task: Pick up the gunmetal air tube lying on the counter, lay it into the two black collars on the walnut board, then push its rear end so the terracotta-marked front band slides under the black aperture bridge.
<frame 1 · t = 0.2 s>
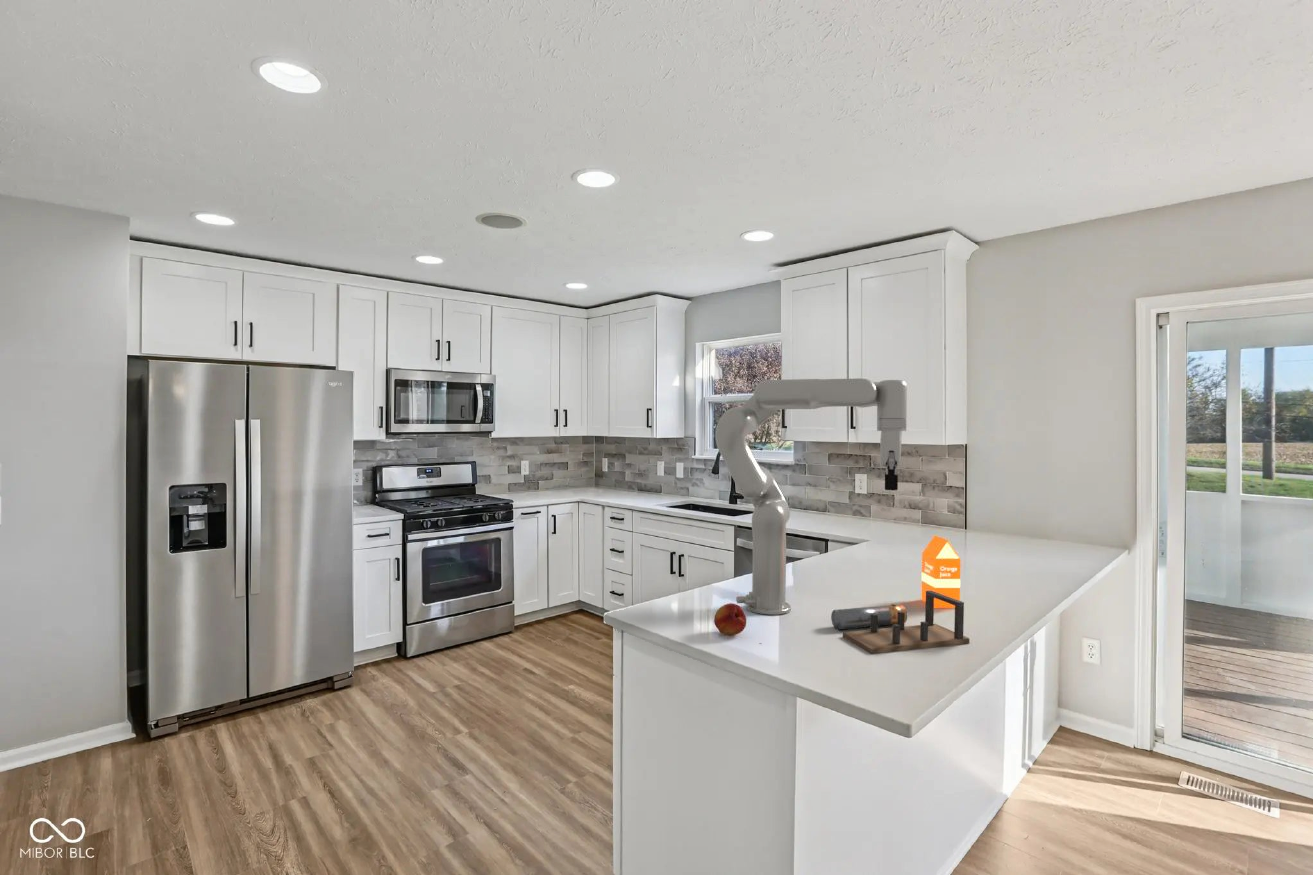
hand: (891, 488, 172), 36 cm above the countertop, tool pointing down, fingers open, 9 cm apart
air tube: (869, 625, 168), on the countertop
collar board: (898, 640, 157), on the countertop
orange juice: (939, 604, 191), on the countertop
fruit: (729, 635, 160), on the countertop
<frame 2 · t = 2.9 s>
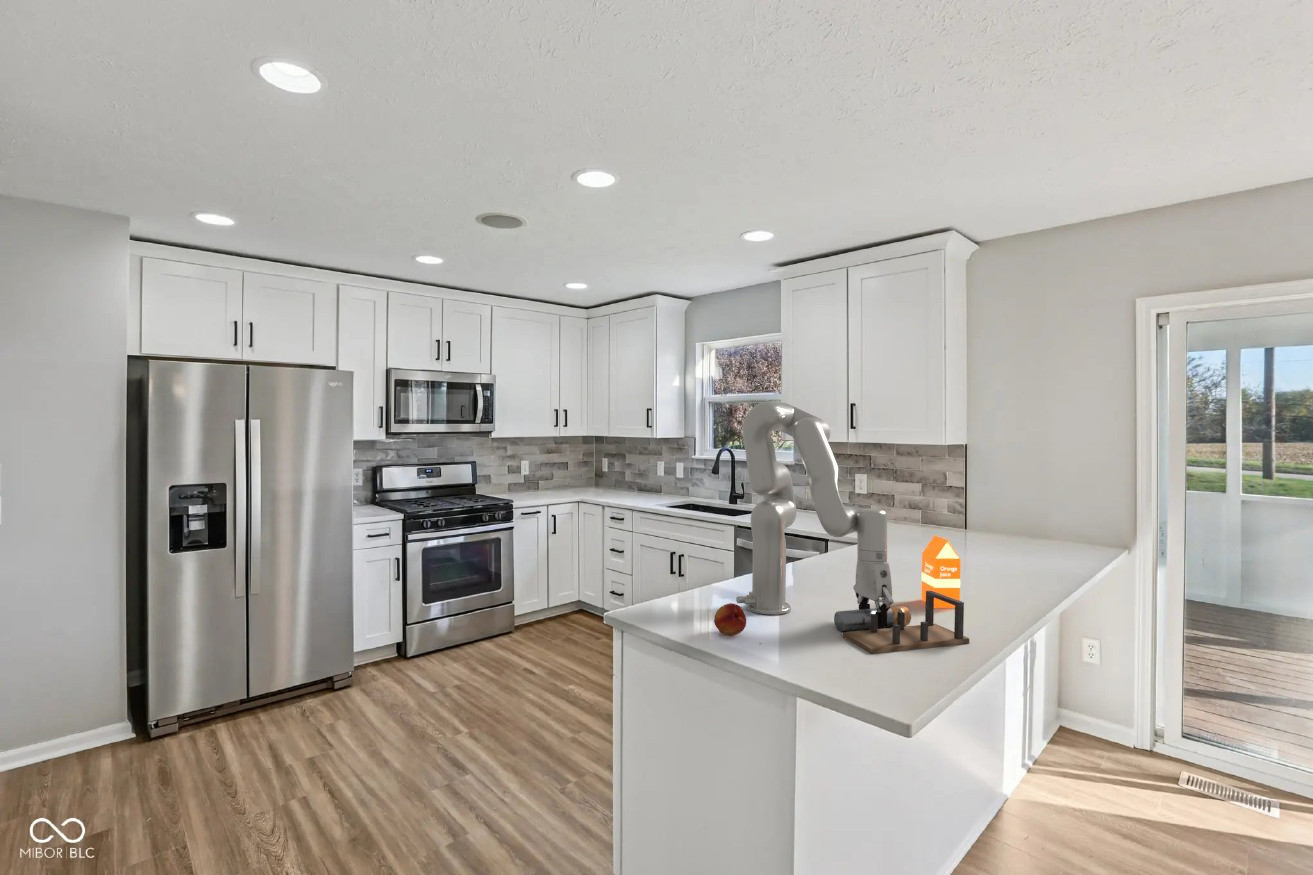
hand: (872, 622, 168), 1 cm above the countertop, tool pointing down, fingers open, 6 cm apart
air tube: (869, 624, 168), on the countertop, tilted 34°, touching gripper
everything else where it was.
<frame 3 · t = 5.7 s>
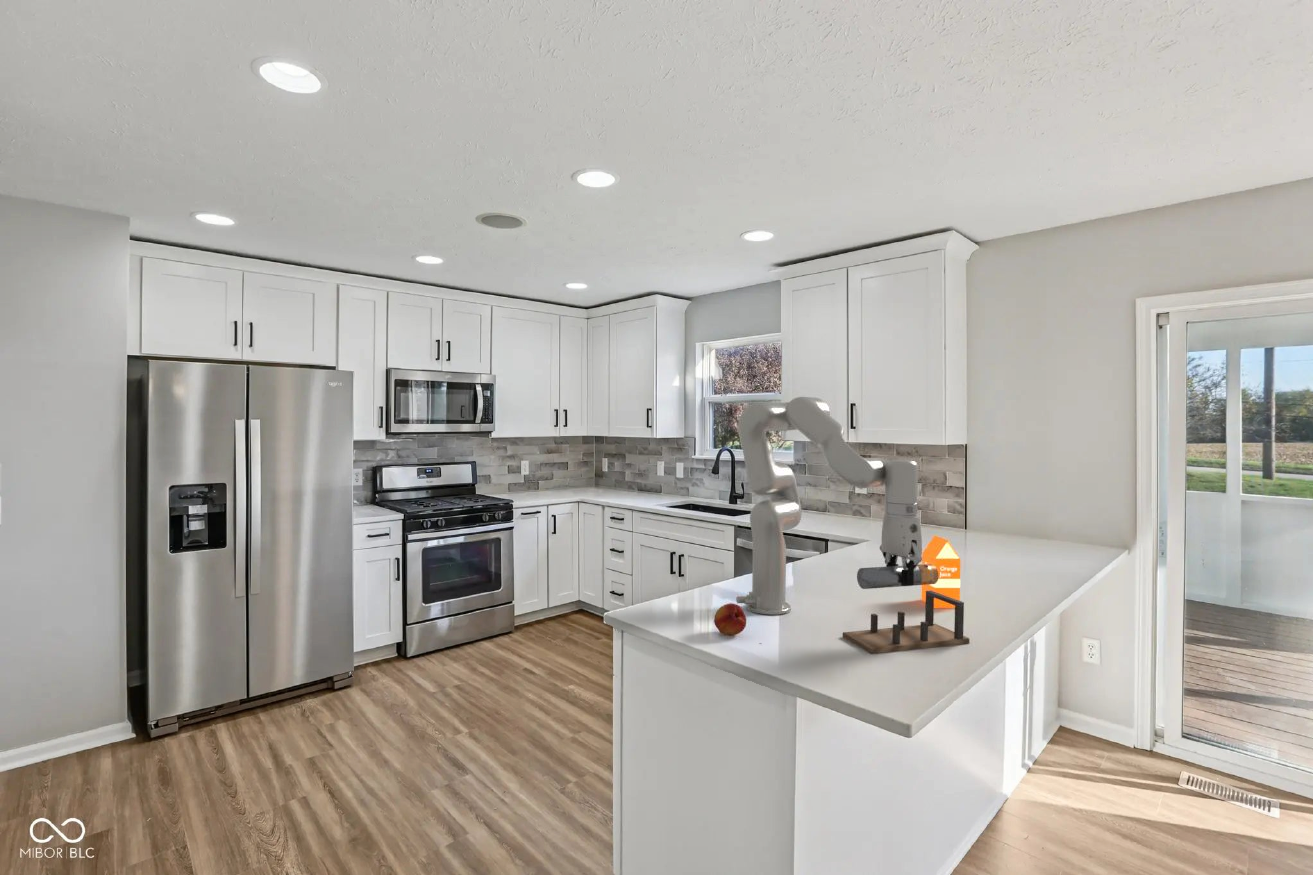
hand: (899, 582, 157), 15 cm above the countertop, tool pointing down, fingers closed on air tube, 5 cm apart
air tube: (895, 584, 157), point 14 cm above the countertop, tilted 22°, touching gripper
everything else where it was.
when the fingers open (3 cm above the countertop, at t = 8.1 s): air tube stays where it is, resting on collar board.
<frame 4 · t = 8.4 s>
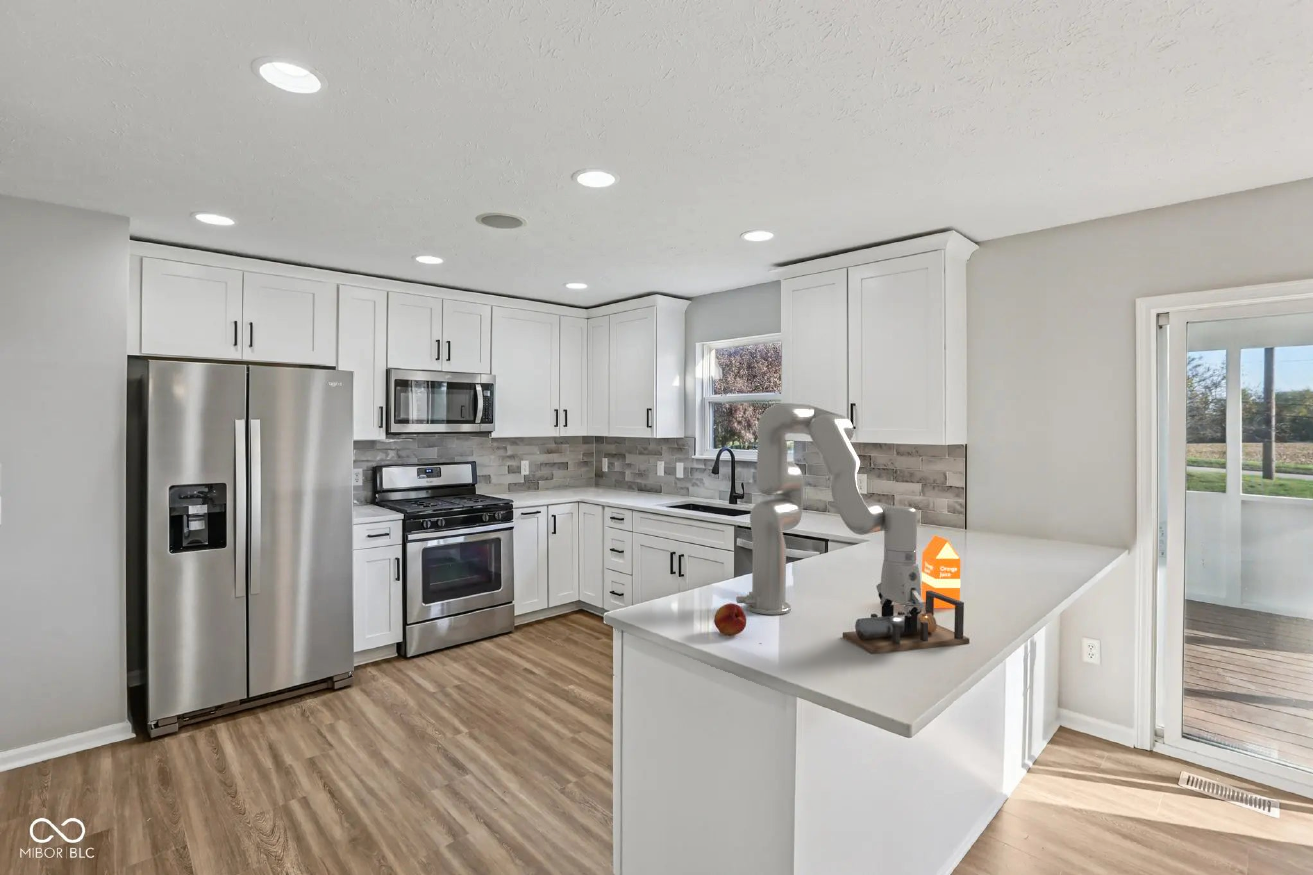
hand: (898, 625, 157), 4 cm above the countertop, tool pointing down, fingers open, 8 cm apart
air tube: (893, 634, 158), point 1 cm above the countertop, tilted 19°, touching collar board
everything else where it was.
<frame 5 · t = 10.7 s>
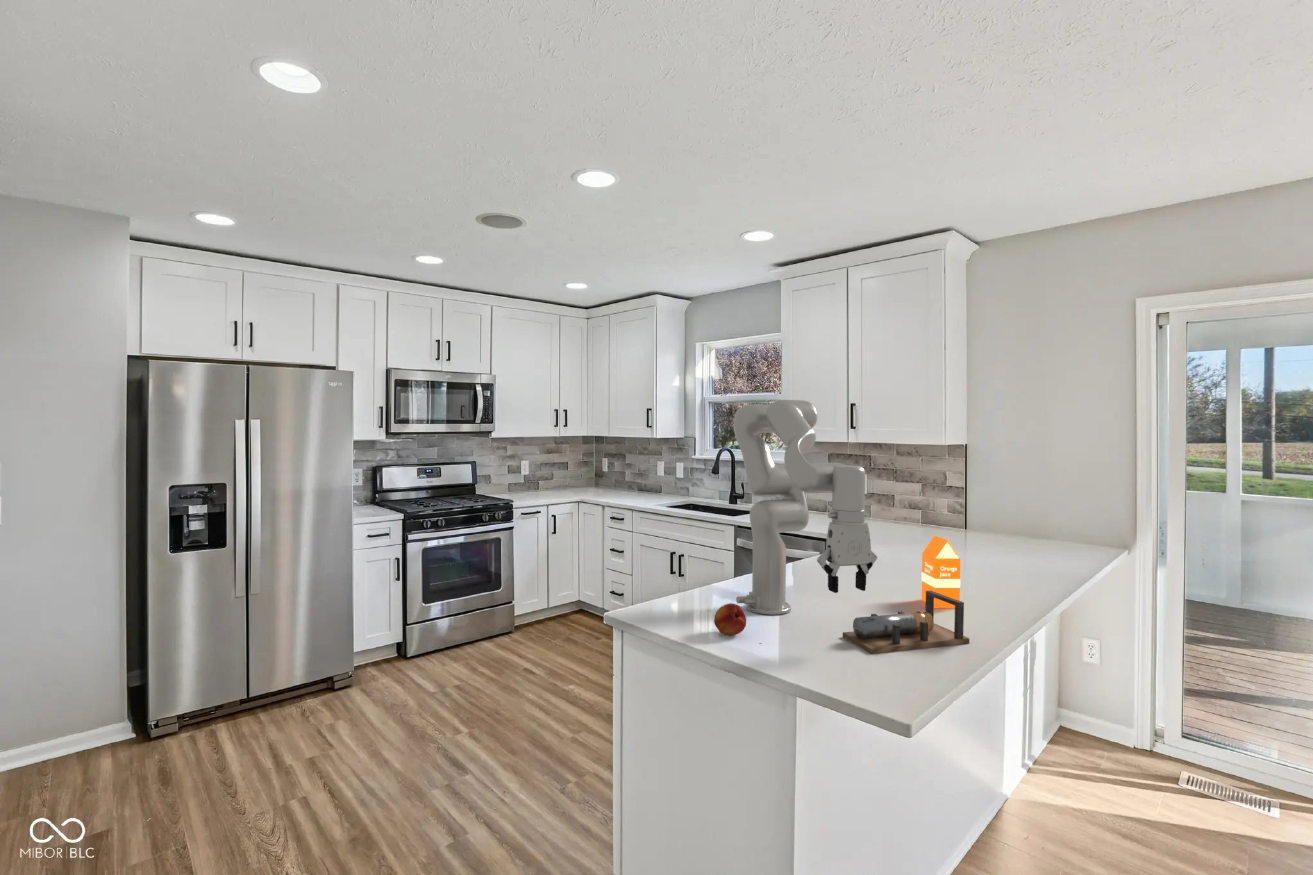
hand: (846, 589, 152), 14 cm above the countertop, tool pointing down, fingers open, 6 cm apart
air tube: (893, 634, 158), point 1 cm above the countertop, touching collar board
everything else where it was.
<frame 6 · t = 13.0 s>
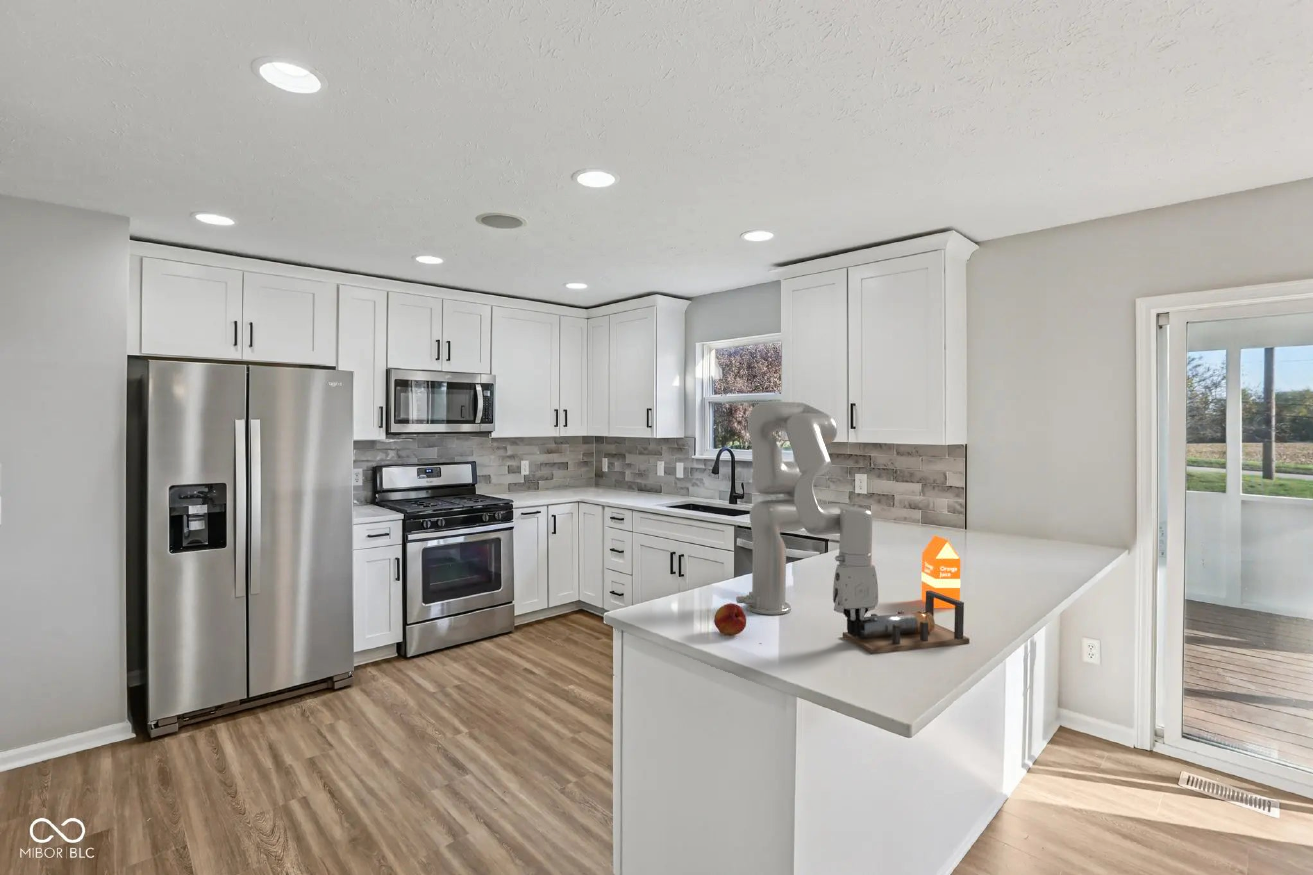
hand: (854, 634, 153), 3 cm above the countertop, tool pointing down, fingers closed
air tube: (894, 634, 158), point 1 cm above the countertop, touching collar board, gripper
everything else where it was.
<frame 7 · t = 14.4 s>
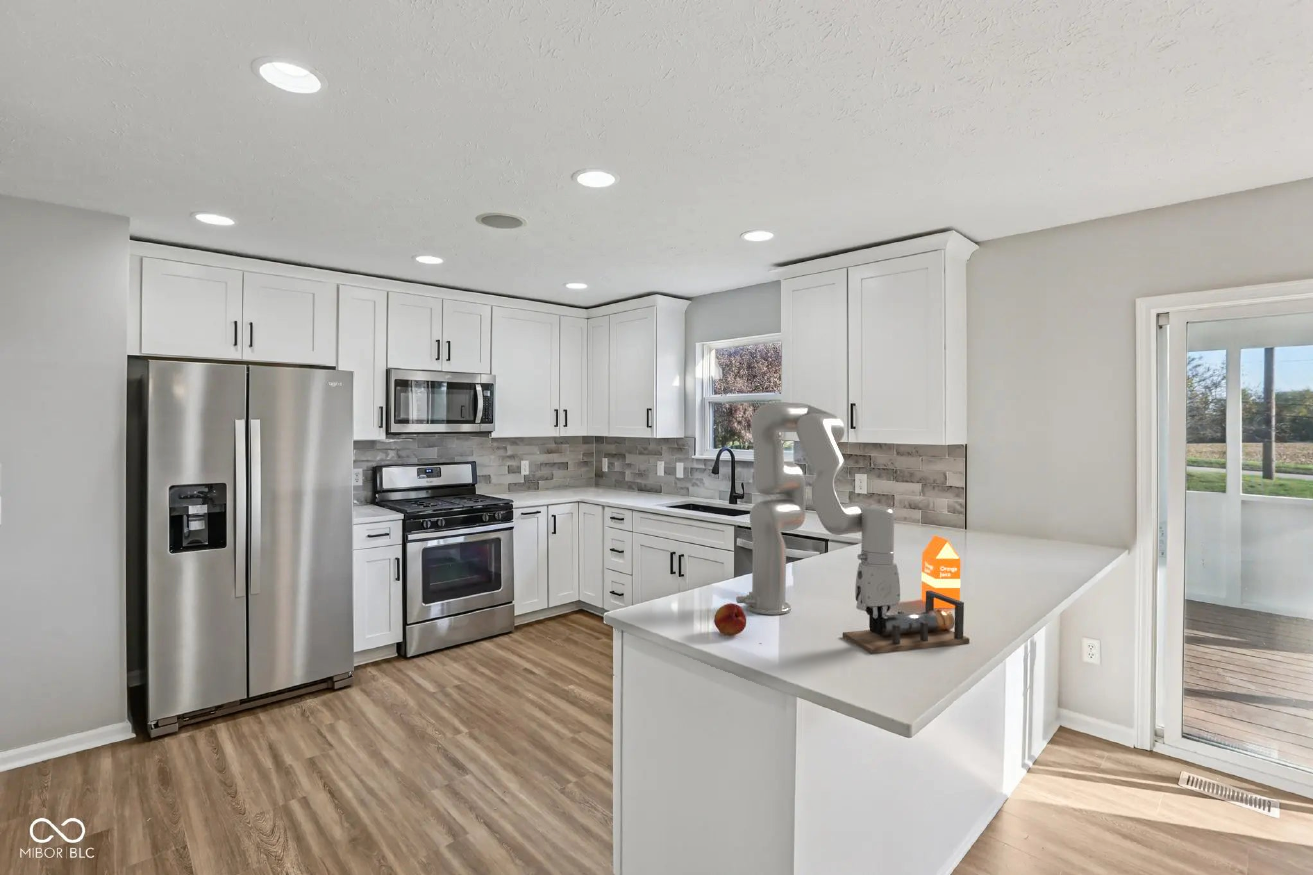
hand: (876, 632, 155), 3 cm above the countertop, tool pointing down, fingers closed
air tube: (914, 632, 160), point 1 cm above the countertop, touching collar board, gripper
everything else where it was.
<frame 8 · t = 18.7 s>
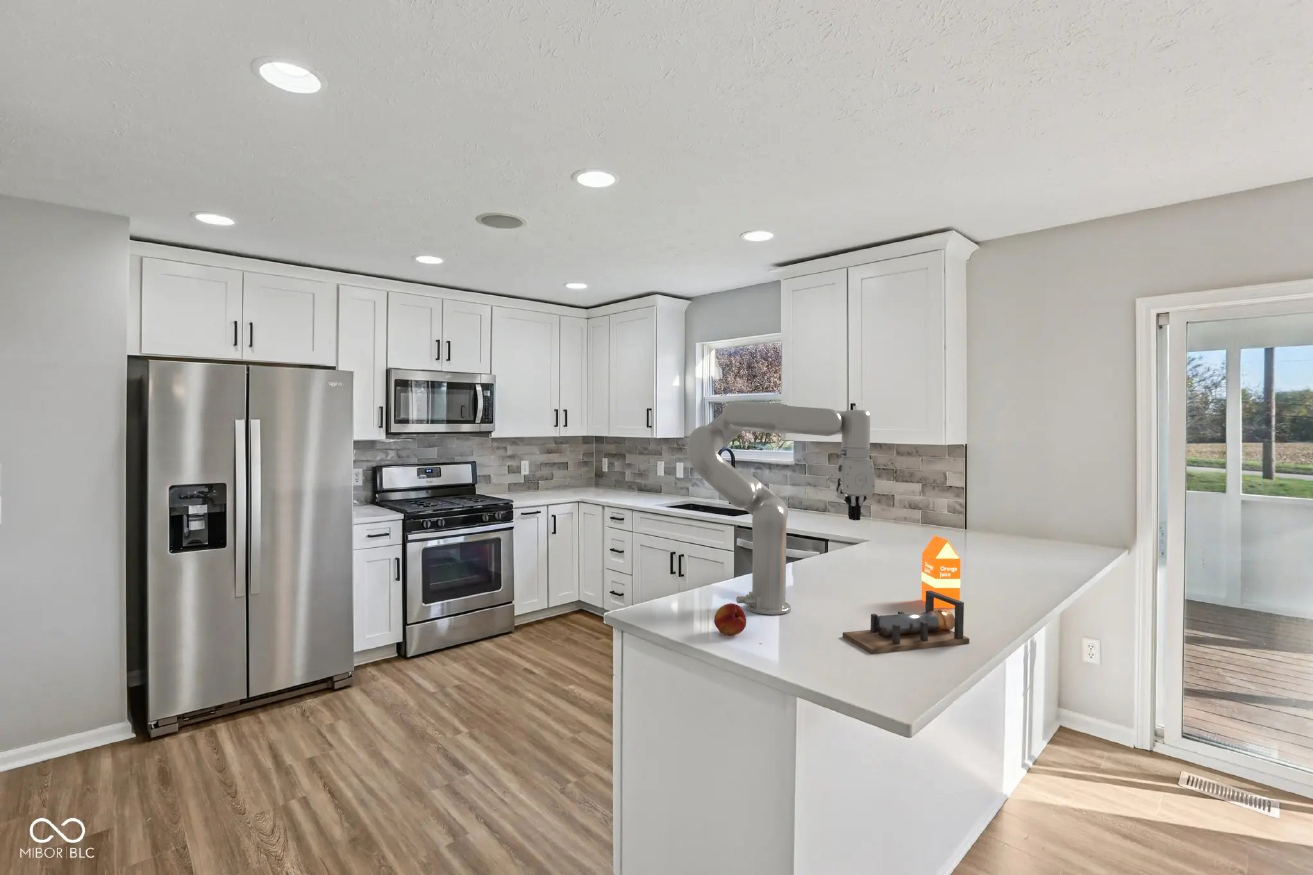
hand: (854, 519, 177), 27 cm above the countertop, tool pointing down, fingers closed
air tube: (914, 632, 160), point 1 cm above the countertop, touching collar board
everything else where it was.
at the end: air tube 1.2 cm from the target spot on the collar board, point 1.2 cm above the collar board's base; the gripper is holding nothing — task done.
